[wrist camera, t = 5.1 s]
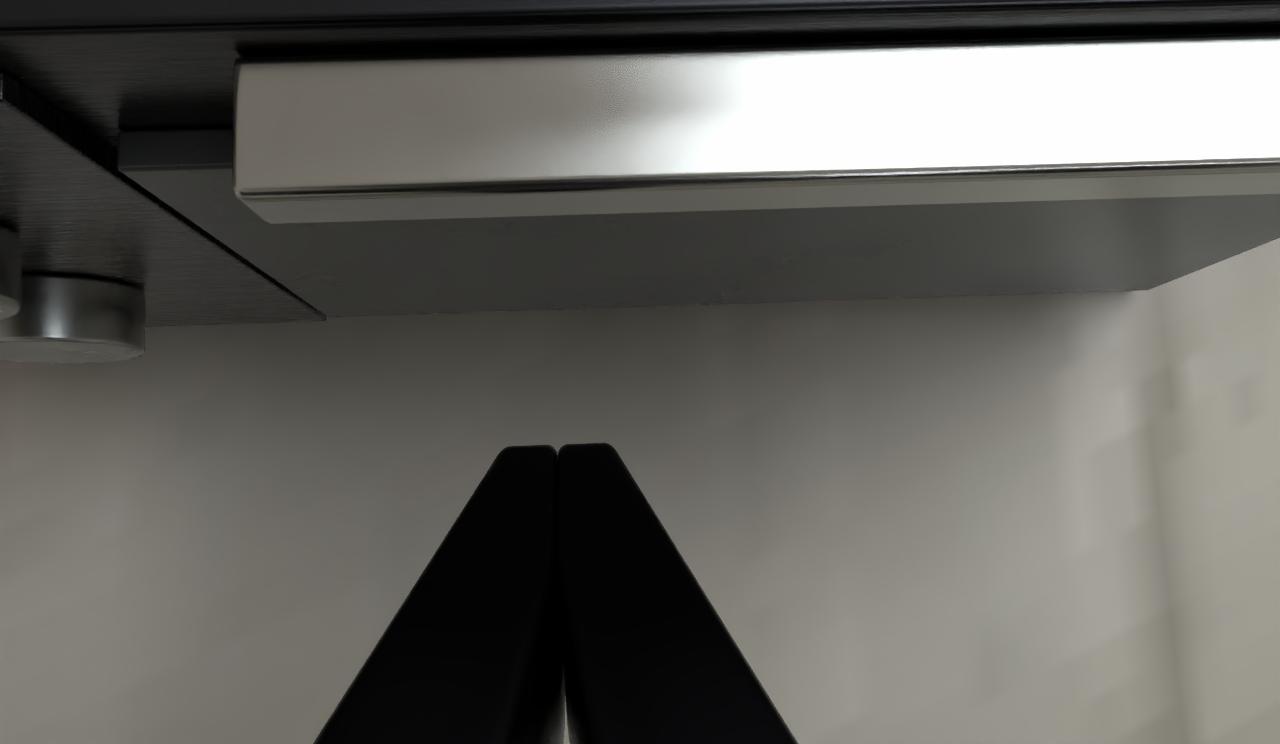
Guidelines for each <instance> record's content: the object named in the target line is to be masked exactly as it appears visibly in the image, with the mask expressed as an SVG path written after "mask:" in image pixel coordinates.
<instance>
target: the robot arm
mask: <svg viewBox="0 0 1280 744" xmlns="http://www.w3.org/2000/svg"><path fill="white" fill-rule="evenodd" d="M565 696H566V711H567V725H568V733H569V742H570V744H798V743H797V741H796V740H795V738H794V736H793V735H792V733H791V732H790V730H789V728H788V727H787V725H786V723H785V722H784V720H783V719H782V717H781V715H780V714H779V712H778V711H777V709H776V707H775V706H774V704H773V703H772V701H771V699H770V698H769V696H768V694H767V693H766V691H765V690H764V688H763V686H762V685H761V683H760V682H759V680H758V678H757V677H756V675H755V673H754V672H753V670H752V669H751V667H750V665H749V664H748V662H747V661H746V659H745V657H744V656H743V654H742V653H741V651H740V649H739V648H738V646H737V644H736V643H735V641H734V640H733V638H732V636H731V635H730V633H729V632H728V630H727V628H726V627H725V625H724V624H723V622H722V620H721V619H720V617H719V615H718V614H717V612H716V611H715V609H714V607H713V606H712V604H711V603H710V601H709V599H708V598H707V596H706V595H705V593H704V591H703V590H702V588H701V586H700V585H699V583H698V582H697V580H696V578H695V577H694V575H693V574H692V572H691V570H690V569H689V567H688V566H687V564H686V562H685V561H684V559H683V557H682V556H681V554H680V553H679V551H678V549H677V548H676V546H675V545H674V543H673V541H672V540H671V538H670V537H669V535H668V533H667V532H666V530H665V528H664V527H663V525H662V524H661V522H660V520H659V519H658V517H657V516H656V514H655V512H654V511H653V509H652V508H651V506H650V504H649V503H648V501H647V499H646V498H645V496H644V495H643V493H642V491H641V490H640V488H639V487H638V485H637V483H636V482H635V480H634V479H633V477H632V475H631V474H630V472H629V470H628V469H627V467H626V466H625V464H624V462H623V461H622V459H621V458H620V456H619V454H618V453H617V451H616V450H615V449H614V448H613V447H612V446H611V445H609V444H607V443H587V444H566V445H563V446H562V447H561V448H560V449H559V451H558V455H557V451H556V450H555V448H554V447H552V446H550V445H532V446H510V447H506V448H504V449H503V450H502V451H501V452H500V453H499V454H498V456H497V457H496V459H495V460H494V462H493V463H492V465H491V466H490V468H489V470H488V471H487V473H486V474H485V476H484V477H483V479H482V480H481V482H480V484H479V485H478V487H477V488H476V490H475V491H474V493H473V495H472V496H471V498H470V499H469V501H468V502H467V504H466V505H465V507H464V509H463V510H462V512H461V513H460V515H459V516H458V518H457V520H456V521H455V523H454V524H453V526H452V527H451V529H450V530H449V532H448V534H447V535H446V537H445V538H444V540H443V541H442V543H441V545H440V546H439V548H438V549H437V551H436V552H435V554H434V555H433V557H432V559H431V560H430V562H429V563H428V565H427V566H426V568H425V570H424V571H423V573H422V574H421V576H420V577H419V579H418V580H417V582H416V584H415V585H414V587H413V588H412V590H411V591H410V593H409V595H408V596H407V598H406V599H405V601H404V602H403V604H402V605H401V607H400V609H399V610H398V612H397V613H396V615H395V616H394V618H393V620H392V621H391V623H390V624H389V626H388V627H387V629H386V630H385V632H384V634H383V635H382V637H381V638H380V640H379V641H378V643H377V644H376V646H375V648H374V649H373V651H372V652H371V654H370V655H369V657H368V659H367V660H366V662H365V663H364V665H363V666H362V668H361V669H360V671H359V673H358V674H357V676H356V677H355V679H354V680H353V682H352V684H351V685H350V687H349V688H348V690H347V691H346V693H345V694H344V696H343V698H342V699H341V701H340V702H339V704H338V705H337V707H336V709H335V710H334V712H333V713H332V715H331V716H330V718H329V719H328V721H327V723H326V724H325V726H324V727H323V729H322V730H321V732H320V734H319V735H318V737H317V738H316V740H315V741H314V743H313V744H563V741H564V729H565Z"/></svg>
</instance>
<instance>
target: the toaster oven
mask: <svg viewBox="0 0 1280 744" xmlns="http://www.w3.org/2000/svg"><path fill="white" fill-rule="evenodd" d="M1278 238H1280V0H0V360H3V361H15V362H31V363H100V362H113V361H122V360H129V359H133V358H136V357H139V356H142V355H143V354H144V352H145V330H146V326H176V325H207V324H237V323H267V322H298V321H325V320H326V316H328V317H342V316H372V315H403V314H433V313H463V312H494V311H524V310H555V309H585V308H616V307H646V306H676V305H707V304H737V303H768V302H798V301H829V300H859V299H889V298H920V297H950V296H981V295H1011V294H1042V293H1072V292H1102V291H1133V290H1149V289H1151V288H1154V287H1157V286H1159V285H1162V284H1164V283H1167V282H1169V281H1172V280H1174V279H1177V278H1179V277H1182V276H1184V275H1187V274H1189V273H1192V272H1194V271H1197V270H1199V269H1202V268H1204V267H1207V266H1209V265H1212V264H1215V263H1217V262H1220V261H1222V260H1225V259H1227V258H1230V257H1232V256H1235V255H1237V254H1240V253H1242V252H1245V251H1247V250H1250V249H1252V248H1255V247H1257V246H1260V245H1262V244H1265V243H1268V242H1270V241H1273V240H1275V239H1278Z"/></svg>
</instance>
